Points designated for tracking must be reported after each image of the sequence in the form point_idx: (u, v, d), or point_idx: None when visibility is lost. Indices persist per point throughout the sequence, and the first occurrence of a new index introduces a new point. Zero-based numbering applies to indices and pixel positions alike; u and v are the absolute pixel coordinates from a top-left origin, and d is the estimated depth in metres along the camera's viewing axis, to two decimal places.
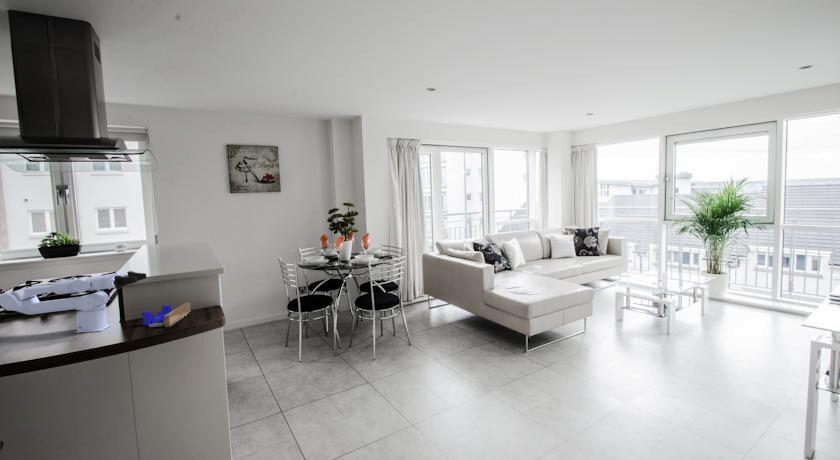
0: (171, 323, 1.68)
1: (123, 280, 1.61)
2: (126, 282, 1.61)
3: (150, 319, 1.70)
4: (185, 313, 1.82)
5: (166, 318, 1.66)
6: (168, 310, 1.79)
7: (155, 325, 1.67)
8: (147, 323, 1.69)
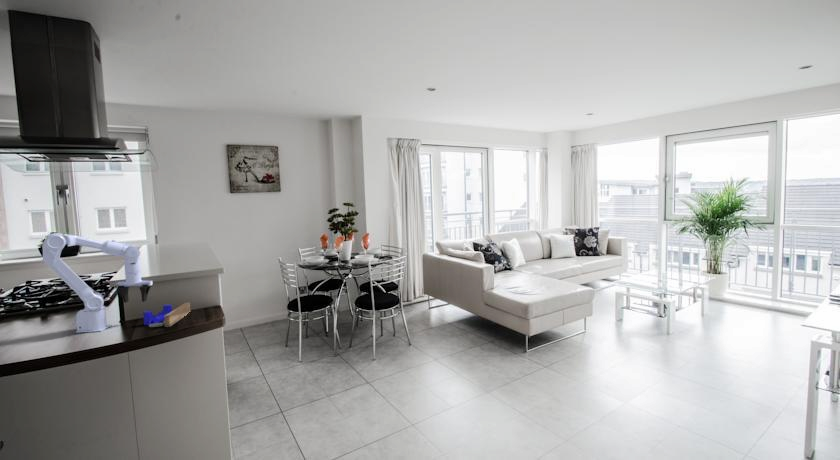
0: (171, 323, 1.68)
1: None
2: None
3: (151, 319, 1.70)
4: (185, 313, 1.82)
5: (166, 318, 1.66)
6: (169, 310, 1.79)
7: (155, 325, 1.67)
8: (148, 323, 1.69)
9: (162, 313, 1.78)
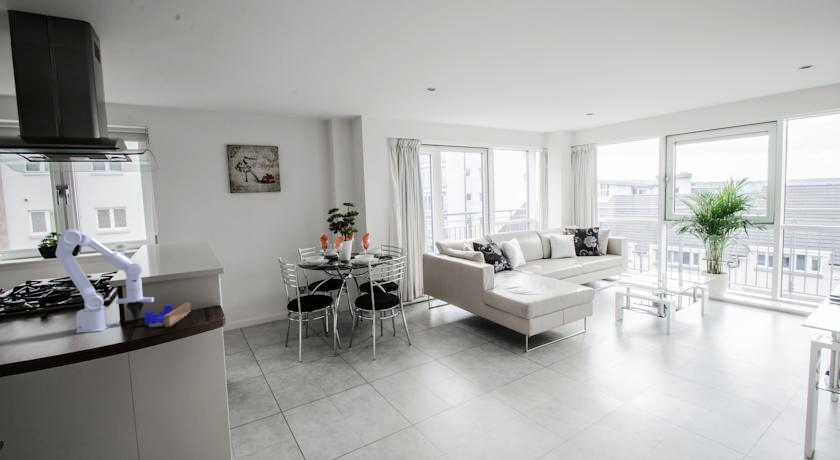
0: (171, 323, 1.68)
1: None
2: None
3: (152, 319, 1.70)
4: (185, 313, 1.82)
5: (166, 318, 1.66)
6: (170, 310, 1.79)
7: (155, 325, 1.67)
8: (149, 323, 1.69)
9: (163, 313, 1.78)
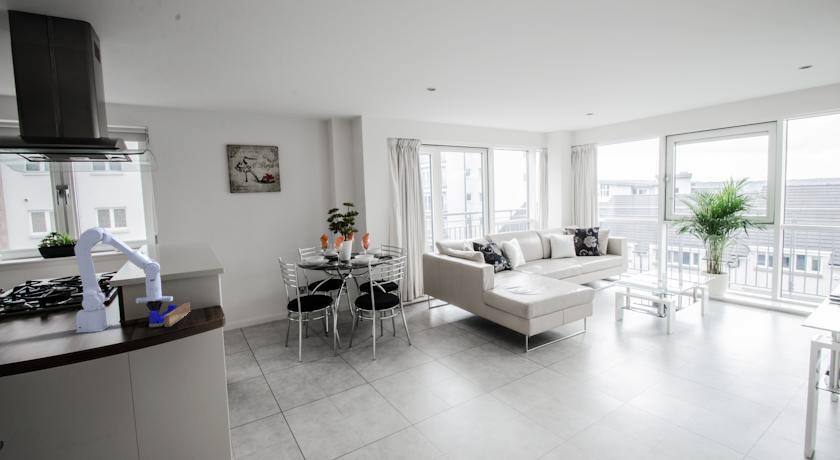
0: (171, 323, 1.68)
1: None
2: None
3: (157, 319, 1.70)
4: (185, 313, 1.82)
5: (166, 318, 1.66)
6: None
7: (155, 325, 1.67)
8: None
9: (167, 313, 1.78)
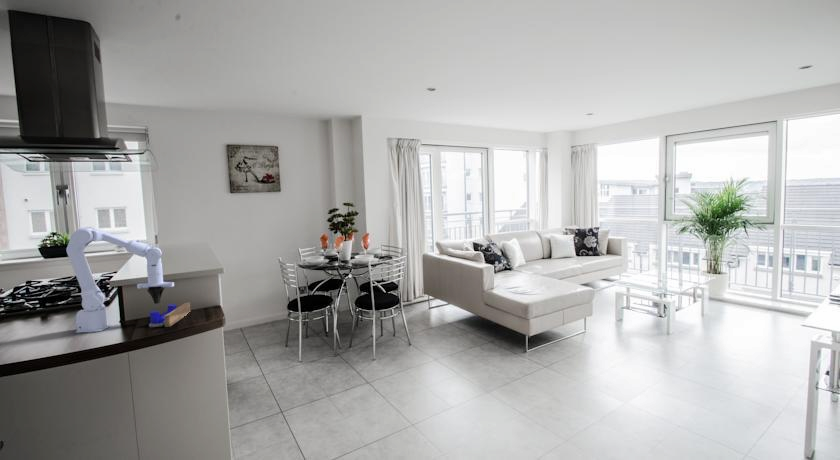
0: (171, 323, 1.68)
1: (158, 292, 1.75)
2: None
3: (158, 319, 1.70)
4: (185, 313, 1.82)
5: (166, 318, 1.66)
6: None
7: (155, 325, 1.67)
8: None
9: (167, 313, 1.78)
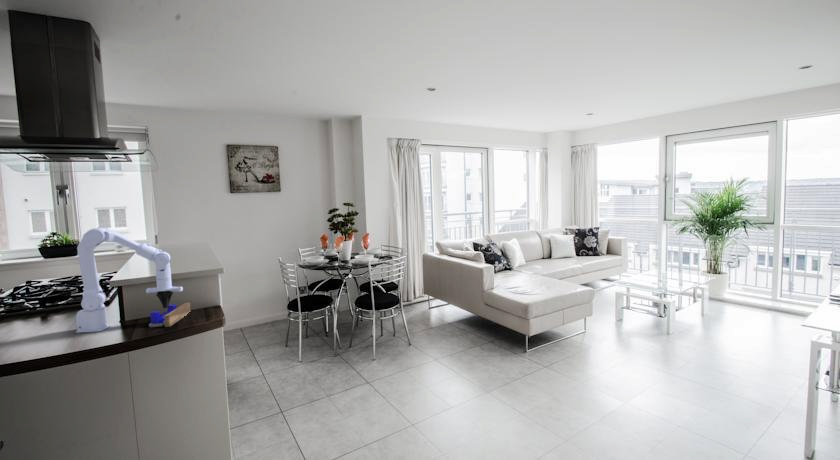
0: (171, 323, 1.68)
1: (167, 297, 1.76)
2: (166, 300, 1.75)
3: (159, 319, 1.70)
4: (185, 313, 1.82)
5: (166, 318, 1.66)
6: None
7: (155, 325, 1.67)
8: None
9: (167, 313, 1.78)
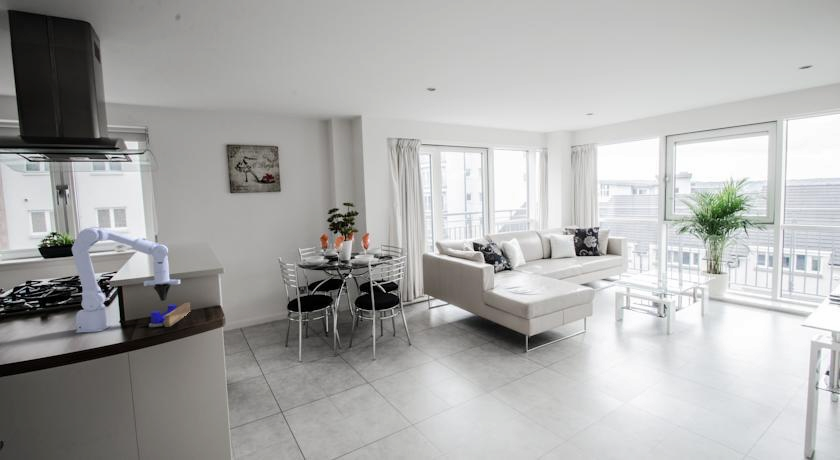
0: (171, 323, 1.68)
1: None
2: None
3: (159, 319, 1.70)
4: (185, 313, 1.82)
5: (166, 318, 1.66)
6: None
7: (155, 325, 1.67)
8: None
9: (167, 313, 1.78)
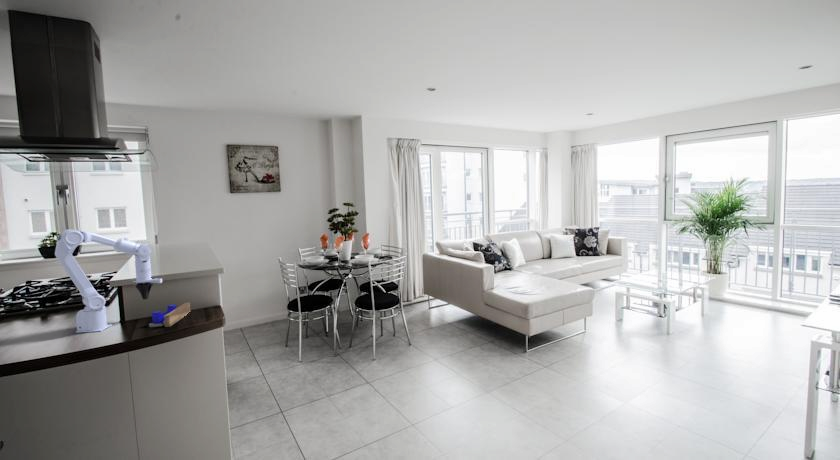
0: (171, 323, 1.68)
1: None
2: None
3: (160, 319, 1.70)
4: (185, 313, 1.82)
5: (166, 318, 1.66)
6: None
7: (155, 325, 1.67)
8: None
9: (167, 313, 1.77)
